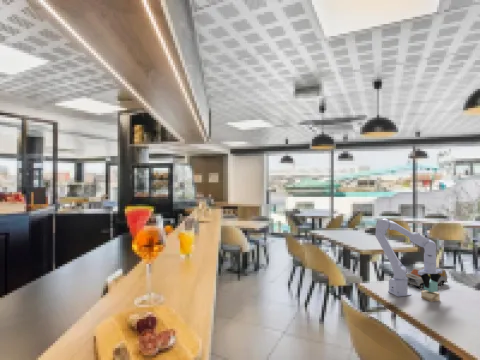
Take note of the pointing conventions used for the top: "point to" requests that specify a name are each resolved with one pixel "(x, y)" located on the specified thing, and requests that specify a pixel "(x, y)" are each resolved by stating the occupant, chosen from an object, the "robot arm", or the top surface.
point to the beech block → (430, 296)
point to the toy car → (417, 280)
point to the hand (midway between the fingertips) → (430, 287)
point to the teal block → (432, 286)
